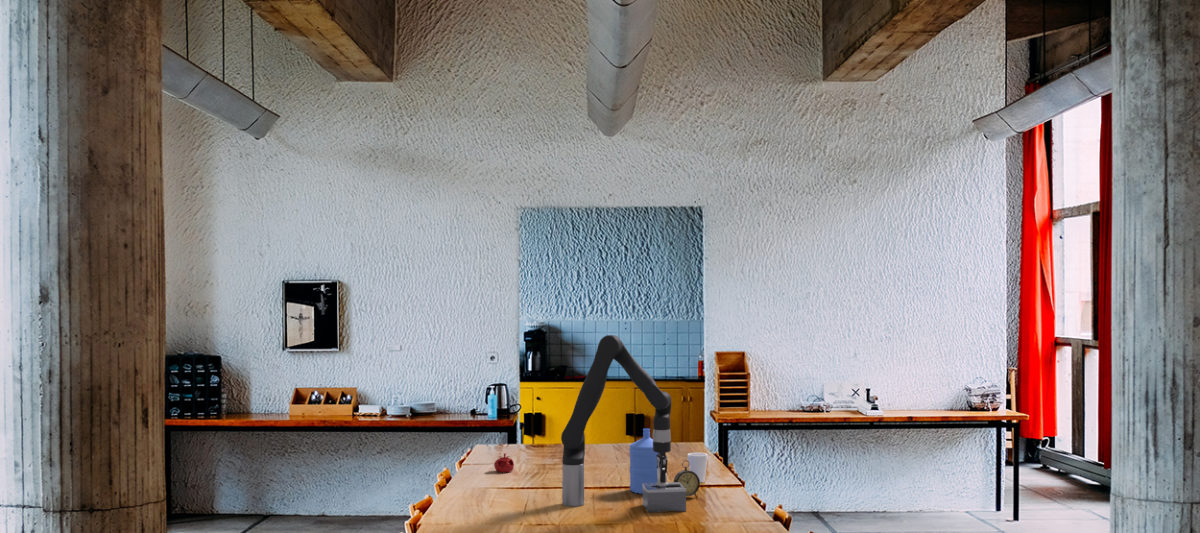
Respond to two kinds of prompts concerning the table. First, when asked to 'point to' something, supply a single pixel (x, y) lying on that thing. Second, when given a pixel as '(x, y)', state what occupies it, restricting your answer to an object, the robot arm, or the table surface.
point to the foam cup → (698, 464)
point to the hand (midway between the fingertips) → (661, 481)
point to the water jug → (642, 463)
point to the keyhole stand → (664, 497)
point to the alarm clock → (688, 481)
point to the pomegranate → (504, 464)
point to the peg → (659, 479)
